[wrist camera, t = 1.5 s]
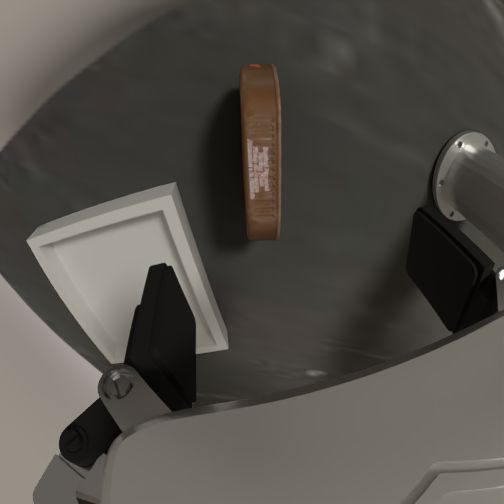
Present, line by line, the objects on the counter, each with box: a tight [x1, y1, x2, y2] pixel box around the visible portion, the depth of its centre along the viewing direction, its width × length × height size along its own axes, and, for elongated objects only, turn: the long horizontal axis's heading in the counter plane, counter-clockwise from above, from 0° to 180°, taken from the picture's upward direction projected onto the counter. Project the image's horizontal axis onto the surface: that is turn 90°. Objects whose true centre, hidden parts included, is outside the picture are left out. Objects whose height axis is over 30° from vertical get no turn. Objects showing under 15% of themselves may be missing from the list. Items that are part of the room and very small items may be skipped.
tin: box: [239, 63, 281, 241], centre depth 23 cm, size 15×3×8 cm, turn 2°
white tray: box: [27, 182, 228, 364], centre depth 32 cm, size 18×22×3 cm
